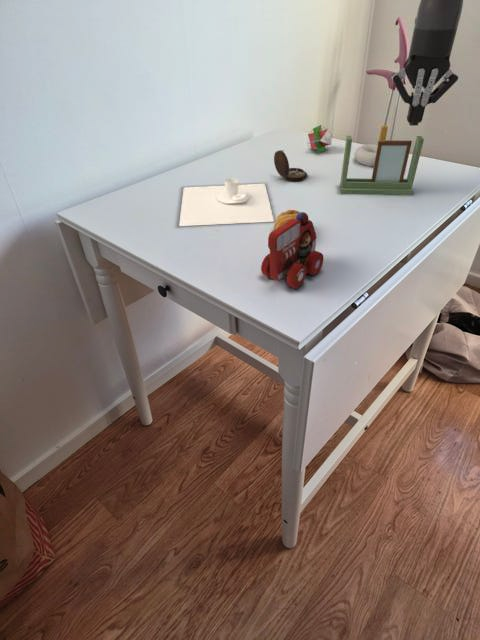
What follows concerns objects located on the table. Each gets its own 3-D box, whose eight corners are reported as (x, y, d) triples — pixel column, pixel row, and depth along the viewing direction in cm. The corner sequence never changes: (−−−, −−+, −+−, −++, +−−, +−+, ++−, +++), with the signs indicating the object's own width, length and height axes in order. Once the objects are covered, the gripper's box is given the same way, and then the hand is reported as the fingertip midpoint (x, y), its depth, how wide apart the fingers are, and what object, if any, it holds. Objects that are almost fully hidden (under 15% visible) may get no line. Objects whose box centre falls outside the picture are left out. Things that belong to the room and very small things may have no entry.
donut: (386, 155, 117) (350, 154, 117) (389, 142, 115) (352, 142, 115) (395, 168, 110) (356, 168, 110) (398, 155, 107) (359, 154, 108)
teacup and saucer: (251, 206, 95) (250, 188, 92) (215, 207, 95) (214, 190, 92) (248, 190, 101) (248, 173, 99) (215, 191, 101) (214, 174, 99)
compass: (311, 178, 106) (314, 148, 101) (284, 184, 103) (285, 154, 98) (294, 168, 111) (296, 139, 107) (268, 174, 109) (268, 144, 104)
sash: (401, 184, 98) (414, 125, 90) (402, 186, 97) (415, 127, 89) (370, 184, 99) (380, 125, 91) (371, 186, 98) (381, 127, 90)
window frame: (408, 187, 100) (420, 134, 92) (411, 194, 97) (424, 140, 89) (339, 186, 102) (346, 134, 94) (340, 193, 99) (347, 140, 91)
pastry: (314, 247, 80) (315, 229, 78) (279, 249, 80) (279, 231, 78) (304, 224, 88) (305, 207, 85) (272, 226, 87) (272, 209, 85)
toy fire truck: (328, 265, 76) (335, 211, 69) (287, 297, 69) (290, 241, 62) (296, 252, 79) (300, 200, 72) (254, 282, 72) (254, 227, 66)
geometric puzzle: (296, 142, 120) (313, 121, 114) (310, 136, 124) (326, 115, 117) (312, 162, 120) (329, 142, 113) (325, 155, 124) (342, 135, 117)
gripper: (403, 28, 76) (384, 129, 87) (480, 27, 75) (450, 130, 86) (395, 23, 81) (378, 119, 93) (467, 22, 80) (441, 119, 91)
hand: (413, 124), depth 89 cm, fingers closed
